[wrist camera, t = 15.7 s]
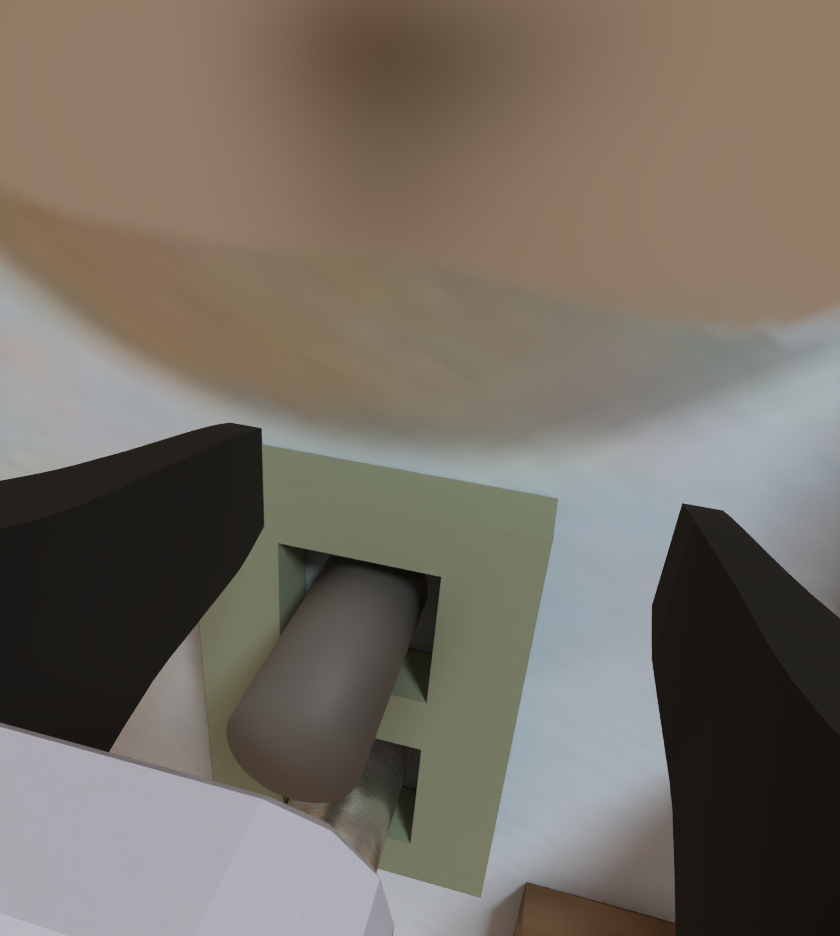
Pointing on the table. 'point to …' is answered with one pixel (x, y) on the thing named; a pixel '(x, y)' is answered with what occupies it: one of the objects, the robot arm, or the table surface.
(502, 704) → the tool rack
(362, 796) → the steel peg
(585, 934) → the socket holder
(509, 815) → the table surface
